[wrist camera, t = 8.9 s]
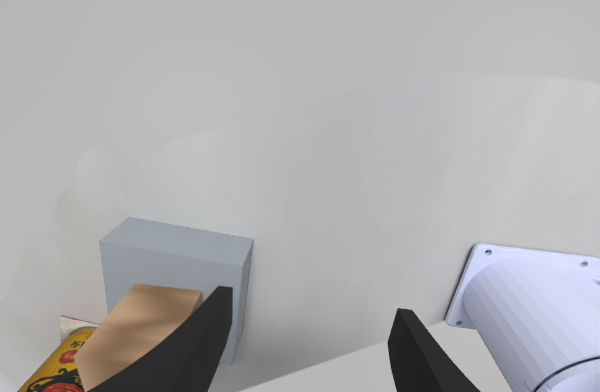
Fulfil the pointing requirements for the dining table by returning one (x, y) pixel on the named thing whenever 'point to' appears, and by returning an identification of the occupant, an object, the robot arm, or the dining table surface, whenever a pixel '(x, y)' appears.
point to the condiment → (62, 361)
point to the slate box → (178, 265)
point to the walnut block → (133, 330)
